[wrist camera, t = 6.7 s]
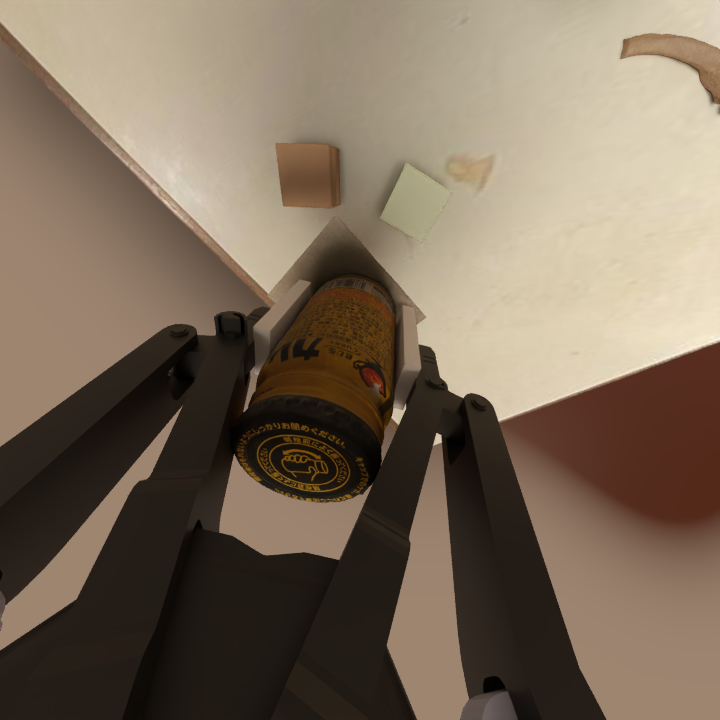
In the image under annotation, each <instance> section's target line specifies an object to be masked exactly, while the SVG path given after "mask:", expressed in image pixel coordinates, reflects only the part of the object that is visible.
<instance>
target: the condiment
mask: <svg viewBox="0 0 720 720" xmlns="http://www.w3.org/2000/svg"><path fill="white" fill-rule="evenodd" d="M299 280H304V281H308V282H311V290H310V300H309V302H308V303H307V304H306V305H305V307H304V309H303V310H302V311H301V312H300V313H299V315H298V317H297V319H296V320H295V322H293V323H292V325H291V327H290V328H289V330H288V331H287V332H286V334H285V335H284V337H283V338H282V339H281V340H280V341H279V342H278V344H277V345H276V347H275V349H274V350H273V352H272V353H271V354H270V355H269V356H268V357H267V360H266V362H265V363H264V365H263V366H262V368H261V370H260V372H259V375H258V378H257V383H256V391H255V392H254V394H253V395H252V397H251V400H250V402H249V405H248V409H247V410H246V411H245V412H243V413H242V414H241V415H240V417H239V418H238V419H237V423H236V425H235V428H234V430H233V434H232V446H233V452H234V454H235V456H236V458H237V460H238V462H239V464H240V466H242V467H243V469H244V470H245V471H246V472H247V473H248V474H249V475H250V476H251V477H252V478H253V479H255V480H256V481H257V482H259V483H260V484H262V485H263V486H265V487H267V488H269V489H271V490H273V491H275V492H277V493H281V494H282V495H285V496H288V497H291V498H294V499H299V500H306V501H309V502H321V503H326V502H340V501H345V500H347V499H351V498H354V497H355V496H357V495H359V494H363V493H364V492H365V491H366V490H367V489H368V487H370V486H371V485H372V483H373V482H374V480H375V478H376V476H377V474H378V471H379V469H380V467H381V462H382V458H381V446H382V443H383V439H384V430H385V428H386V427H387V425H388V423H389V421H390V419H391V416H392V413H393V405H394V400H395V398H394V396H395V384H394V378H395V368H396V365H395V344H396V325H397V322H398V318H399V315H400V312H401V309H402V306H403V305H405V306H409V307H413V308H414V310H415V318H416V324H418V323H419V322H421V321H422V320H423V319H425V318H426V316H425V315H424V314H423V313H422V312H421V311H420V309H419V308H418V307H417V306H416V305H415V304H414V302H413V301H412V300H411V299H410V298H409V297H408V296H407V295H406V294H405V292H404V291H403V290H402V289H401V287H400V286H399V285H398V284H397V283H396V282H395V281H394V280H393V278H392V277H391V276H390V275H389V274H388V273H387V272H386V271H385V269H384V268H383V267H382V266H381V265H380V264H379V263H378V262H377V261H376V260H375V259H374V257H373V256H372V255H371V254H370V252H369V251H368V250H367V249H366V248H365V247H364V245H363V244H362V243H361V242H360V241H359V240H358V239H357V238H356V236H355V235H354V234H353V233H352V232H351V231H350V230H349V229H348V228H347V227H346V225H345V224H344V223H343V222H342V221H341V220H340V218H339V217H338V216H337V215H335V216H334V217H333V219H332V220H331V221H330V222H329V223H328V225H327V226H326V227H325V228H324V229H323V231H322V232H321V233H320V234H319V235H318V237H317V238H316V239H315V240H314V241H313V242H312V244H311V245H310V246H309V247H308V248H307V250H306V251H305V252H304V253H303V254H302V255H301V257H300V258H299V259H298V260H297V261H296V262H295V264H294V265H293V266H292V267H291V268H290V269H289V271H288V272H287V273H286V274H285V275H284V276H283V278H282V279H281V280H280V281H279V282H278V284H277V285H276V286H275V287H274V288H273V289H272V290H271V292H270V293H269V294H268V295H267V296H268V297H269V298H270V299H271V300H273V301H274V303H275V304H276V303H277V302H278V301H279V300H280V299H281V298H282V297H283V296H284V295H285V294H286V293H287V292H288V291H289V290H290V289H291V288H292V287H293V286H294V285H295V284H296V283H297V282H298V281H299Z"/></svg>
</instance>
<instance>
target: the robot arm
mask: <svg viewBox="0 0 720 720" xmlns="http://www.w3.org/2000/svg"><path fill="white" fill-rule="evenodd" d="M310 290H311V282H308V281H304V280H299V281H298V282H297V283H296V284H295V285H294V286H293V287H292V288H291V289H290V290H289V291H288V292H287V293H286V294H285V295H284V296H283V297H282V298H281V299H280V300H279V301H278V302H277V303H276V304H275V305H274V306H273V307H272V308H271V309H270V308H266V307H260V308H257V309H255V310H254V311H252V312H251V313H250V315H248V316H247V317H246V316H245V315H244V314H242V313H240V312H235V311H227V312H222V313H219V314H217V315H216V316H215V317H214V320H215V326H216V335H215V336H205V335H197V330H196V329H195V328H194V327H193V326H190V325H185V324H175V325H171V326H168V327H166V328H164V329H162V330H161V331H160V332H158V333H157V334H155V335H154V336H153V337H151V338H150V339H148V340H147V341H146V342H144V343H143V344H142V345H140V346H139V347H137V348H136V349H135V350H133V351H132V352H131V353H129V354H128V355H126V356H125V357H124V358H122V359H121V360H120V361H118V362H117V363H115V364H114V365H113V366H111V367H110V368H108V369H107V370H106V371H104V372H103V373H102V374H100V375H99V376H97V377H96V378H95V379H93V380H92V381H91V382H89V383H88V384H86V385H85V386H84V387H82V388H81V389H80V390H78V391H77V392H75V393H74V394H73V395H71V396H70V397H69V398H67V399H66V400H65V401H63V402H62V403H60V404H59V405H57V406H56V407H55V408H53V409H52V410H51V411H49V412H48V413H46V414H45V415H44V416H42V417H41V418H40V419H38V420H37V421H35V422H34V423H33V424H32V425H30V426H29V427H27V428H26V429H24V430H23V431H22V432H20V433H19V434H18V435H16V436H15V437H13V438H12V439H11V440H9V441H8V442H6V443H5V444H4V445H2V446H1V447H0V630H1V627H2V622H1V617H2V614H3V612H4V609H5V605H6V604H8V602H10V601H11V600H12V599H13V598H14V597H15V596H17V595H18V594H19V593H20V592H21V591H22V590H23V589H24V588H25V587H26V586H27V585H28V584H29V583H30V582H31V581H32V580H33V579H34V578H35V577H36V576H37V575H38V574H39V573H40V572H41V571H42V570H43V569H44V568H45V567H46V566H47V565H48V564H49V563H50V561H51V560H52V559H53V558H54V557H55V556H56V555H57V554H58V553H59V552H60V550H61V549H62V548H63V547H64V546H65V545H66V544H67V542H68V541H69V540H70V539H71V538H72V536H73V535H74V534H75V533H76V532H77V530H78V529H79V528H80V527H81V526H82V524H83V523H84V522H85V521H86V520H87V519H88V517H89V516H90V515H91V514H92V512H93V511H94V510H95V509H96V508H97V507H98V506H99V504H100V503H101V502H102V501H103V499H104V498H105V497H106V496H107V495H108V494H109V492H110V491H111V490H112V489H113V488H114V486H115V485H116V484H117V483H118V482H119V480H120V479H121V478H122V477H123V476H124V475H125V473H126V472H127V471H128V470H129V469H130V467H131V466H132V465H133V464H134V463H135V461H136V460H137V459H138V458H139V457H140V456H141V454H142V453H143V452H144V451H145V450H146V448H147V447H148V446H149V445H150V444H151V442H152V441H153V440H154V439H155V438H156V436H157V435H158V434H159V433H160V432H161V430H162V429H163V428H164V427H165V426H166V424H167V423H168V422H169V421H170V420H171V419H172V417H173V416H174V415H175V414H176V412H177V411H178V410H179V409H180V408H181V407H182V405H183V407H182V409H181V411H180V413H179V416H178V418H177V420H176V422H175V424H174V426H173V428H172V430H171V433H170V435H169V437H168V439H167V441H166V443H165V446H164V448H163V450H162V452H161V454H160V457H159V459H158V461H157V463H156V465H155V467H154V469H153V472H152V473H151V475H150V477H149V478H148V479H146V480H142V481H139V482H138V483H137V484H136V485H135V486H134V487H133V489H132V491H131V492H130V494H129V496H128V498H127V500H126V502H125V504H124V506H123V508H122V510H121V512H120V514H119V516H118V518H117V520H116V522H115V524H114V526H113V528H112V530H111V532H110V534H109V536H108V538H107V540H106V542H105V544H104V546H103V548H102V550H101V552H100V554H99V556H98V558H97V560H96V562H95V564H94V566H93V568H92V570H91V572H90V574H89V576H88V578H87V580H86V582H85V584H84V586H83V588H82V590H81V592H80V594H79V596H78V598H77V599H76V600H75V601H73V602H72V603H70V604H69V605H67V606H66V607H64V608H63V609H62V610H60V611H59V612H57V613H56V614H54V615H53V616H51V617H50V618H48V619H47V620H45V621H44V622H42V623H41V624H39V625H38V626H36V627H35V628H33V629H32V630H30V631H29V632H27V633H26V634H24V635H23V636H21V637H20V638H18V639H17V640H15V641H14V642H12V643H11V644H9V645H8V646H6V647H5V648H3V649H2V650H0V720H417V719H416V716H415V714H414V711H413V709H412V706H411V704H410V701H409V699H408V697H407V694H406V692H405V689H404V687H403V684H402V682H401V680H400V677H399V675H398V672H397V670H396V667H395V665H394V663H393V660H392V658H391V655H390V653H389V650H388V648H387V641H388V637H389V633H390V629H391V625H392V621H393V617H394V613H395V609H396V605H397V601H398V597H399V593H400V589H401V585H402V581H403V577H404V573H405V569H406V565H407V561H408V556H409V552H410V541H409V534H410V530H411V526H412V523H413V519H414V515H415V511H416V507H417V503H418V500H419V496H420V492H421V489H422V485H423V481H424V477H425V473H426V470H427V466H428V462H429V458H430V454H431V450H432V447H433V443H434V439H435V436H436V433H438V434H440V435H442V448H443V461H444V472H445V484H446V496H447V507H448V520H449V532H450V543H451V555H452V567H453V579H454V592H455V603H456V615H457V627H458V637H459V645H460V654H461V661H462V667H463V672H464V677H465V682H466V687H467V692H468V696H469V700H468V702H467V703H466V705H465V706H464V708H463V711H462V715H461V719H460V720H606V718H605V716H604V714H603V712H602V710H601V708H600V706H599V704H598V703H597V701H596V699H595V697H594V695H593V693H592V691H591V689H590V687H589V685H588V684H587V682H586V680H585V678H584V676H583V674H582V672H581V670H580V669H579V665H578V662H577V659H576V656H575V654H574V650H573V647H572V645H571V641H570V638H569V635H568V632H567V629H566V626H565V623H564V620H563V617H562V614H561V611H560V608H559V605H558V602H557V599H556V596H555V593H554V589H553V587H552V584H551V580H550V577H549V575H548V571H547V568H546V565H545V562H544V559H543V556H542V553H541V550H540V547H539V544H538V541H537V538H536V535H535V532H534V529H533V526H532V523H531V520H530V516H529V514H528V510H527V507H526V505H525V502H524V498H523V496H522V492H521V489H520V486H519V483H518V480H517V477H516V474H515V471H514V468H513V465H512V462H511V459H510V456H509V453H508V450H507V447H506V444H505V440H504V438H503V434H502V432H501V429H500V425H499V422H498V419H497V416H496V413H495V410H494V407H493V406H492V404H491V403H490V402H489V401H488V400H487V399H486V398H484V397H482V396H480V395H477V394H473V393H470V394H467V395H466V396H465V397H464V398H461V397H459V396H457V395H455V394H453V393H451V392H450V391H448V386H447V384H446V382H445V381H444V380H442V379H441V378H440V376H439V371H438V366H437V361H436V356H435V353H434V351H433V350H432V349H431V348H430V347H427V346H423V345H419V344H418V336H417V327H416V318H415V310H414V308H413V307H409V306H405V305H403V306H402V309H401V312H400V315H399V318H398V322H397V325H396V344H395V365H396V368H395V378H394V384H395V396H394V398H395V400H394V405H393V408H397V409H401V410H403V408H404V406H405V404H406V410H405V413H404V415H403V417H402V419H401V422H400V424H399V426H398V428H397V431H396V433H395V435H394V438H393V440H392V442H391V444H390V447H389V449H388V451H387V453H386V456H385V458H384V460H383V463H382V465H381V467H380V469H379V471H378V474H377V476H376V478H375V480H374V483H373V485H372V487H371V490H370V492H369V494H368V496H367V499H366V501H365V503H364V506H363V508H362V510H361V512H360V514H359V517H358V519H357V521H356V523H355V526H354V528H353V530H352V533H351V535H350V537H349V539H348V542H347V544H346V546H345V548H344V551H343V553H342V555H341V557H340V560H336V559H332V558H327V557H323V556H319V555H314V554H310V553H305V552H303V553H292V554H281V555H269V556H267V555H262V554H261V553H259V552H257V551H255V550H254V549H253V548H251V547H249V546H248V545H246V544H244V543H243V542H241V541H240V540H238V539H236V538H235V537H233V536H230V535H226V534H222V533H219V525H220V516H221V511H222V506H223V502H224V497H225V493H226V488H227V484H228V479H229V474H230V470H231V465H232V461H233V456H234V452H233V446H232V434H233V430H234V428H235V425H236V423H237V419H238V418H239V417H240V415H241V414H242V413H243V410H244V406H245V401H246V396H247V392H248V387H249V382H250V371H251V370H252V368H253V367H254V366H255V374H256V375H259V372H260V370H261V368H262V366H263V365H264V363H265V362H266V360H267V357H268V356H269V355H270V354H271V353H272V352H273V350H274V349H275V347H276V345H277V344H278V342H279V341H280V340H281V339H282V338H283V337H284V335H285V334H286V332H287V331H288V330H289V328H290V327H291V325H292V323H293V322H295V320H296V319H297V317H298V315H299V313H300V312H301V311H302V310H303V309H304V307H305V305H306V304H307V303H308V302H309V300H310Z"/></svg>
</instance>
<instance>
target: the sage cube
mask: <svg viewBox="0 0 720 720" xmlns="http://www.w3.org/2000/svg"><path fill="white" fill-rule="evenodd" d="M451 194H452V192H451V191H450V190H448V189H447V188H445V187H444V186H442V185H440V184H439V183H437V182H436V181H434V180H433V179H431V178H429V177H428V176H426V175H425V174H423V173H422V172H420V171H418V170H417V169H415V168H414V167H412V166H411V165H409V164H407V163H406V165H405V167H404V169H403V171H402V173H401V175H400V177H399V179H398V181H397V183H396V186H395V188H394V190H393V192H392V194H391V196H390V198H389V200H388V202H387V204H386V207H385V209H384V211H383V213H382V215H381V217H380V219H382V220H383V221H385V222H387V223H388V224H390V225H392V226H394V227H395V228H397V229H399V230H400V231H402V232H404V233H405V234H407V235H409V236H411V237H412V238H414V239H416V240H417V241H419V242H421V243H422V242H423V240H424V239H425V237H426V235H427V234H428V232H429V230H430V229H431V227H432V225H433V224H434V222H435V220H436V219H437V217H438V215H439V214H440V212H441V210H442V209H443V207H444V205H445V204H446V202H447V200H448V199H449V197H450V195H451Z"/></svg>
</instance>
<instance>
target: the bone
mask: <svg viewBox="0 0 720 720" xmlns="http://www.w3.org/2000/svg"><path fill="white" fill-rule="evenodd" d="M640 54H653V55H654V54H659V55H664V56H668V57H673V58H677V59H679V60H681V61H683V62H686V63H689V64H691V65H692V66H694V67H695V68H697V69H698V70H699V71H700V80H701V82H702V84H703V85H704V87H705V88H707V89H708V90H709V91H710V92H711V93H712V95H713V97H714V98H713V100H714V102H715V103H716V104H717V105H718V104H720V49H718V48H717V47H714V46H712V45H709V44H707V43H705V42H702V41H699V40H696V39H694V38H689V37H684V36H676V35H671V34H663V35H661V34H652V33H651V34H643V35H640V36H635V37H632V38H628V39H624V45H623V50H622V54H621V59H623V58H625V57H628V56H632V55H640Z"/></svg>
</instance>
